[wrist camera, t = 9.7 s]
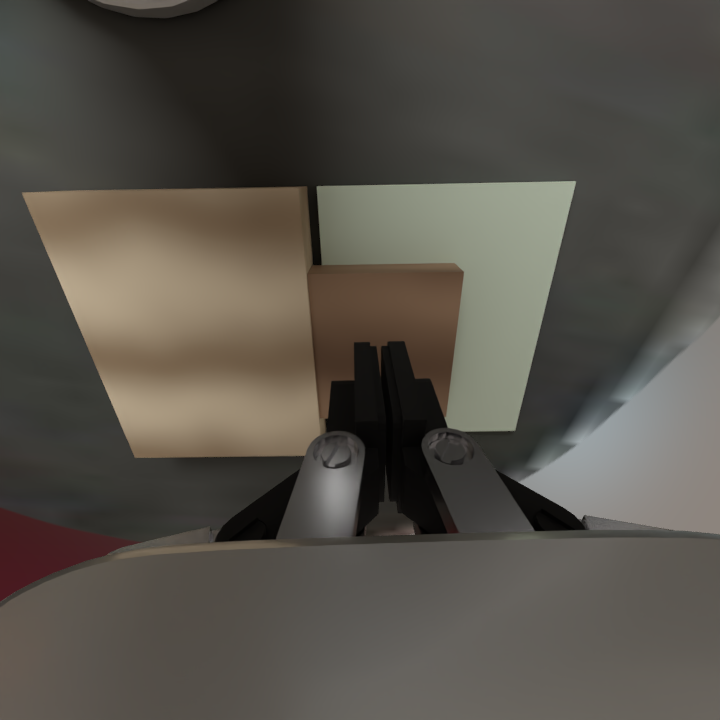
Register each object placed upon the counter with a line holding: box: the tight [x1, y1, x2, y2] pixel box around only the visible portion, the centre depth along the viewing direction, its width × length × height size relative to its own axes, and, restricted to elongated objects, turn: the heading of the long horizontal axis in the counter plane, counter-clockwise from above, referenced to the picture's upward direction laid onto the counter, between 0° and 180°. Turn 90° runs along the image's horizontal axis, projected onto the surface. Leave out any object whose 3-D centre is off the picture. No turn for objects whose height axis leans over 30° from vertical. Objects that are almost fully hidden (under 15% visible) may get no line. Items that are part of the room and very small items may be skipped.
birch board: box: [22, 186, 326, 458], centre depth 18 cm, size 14×11×2 cm
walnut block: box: [307, 263, 464, 419], centre depth 18 cm, size 8×7×2 cm
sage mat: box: [317, 181, 576, 431], centre depth 19 cm, size 14×12×1 cm
